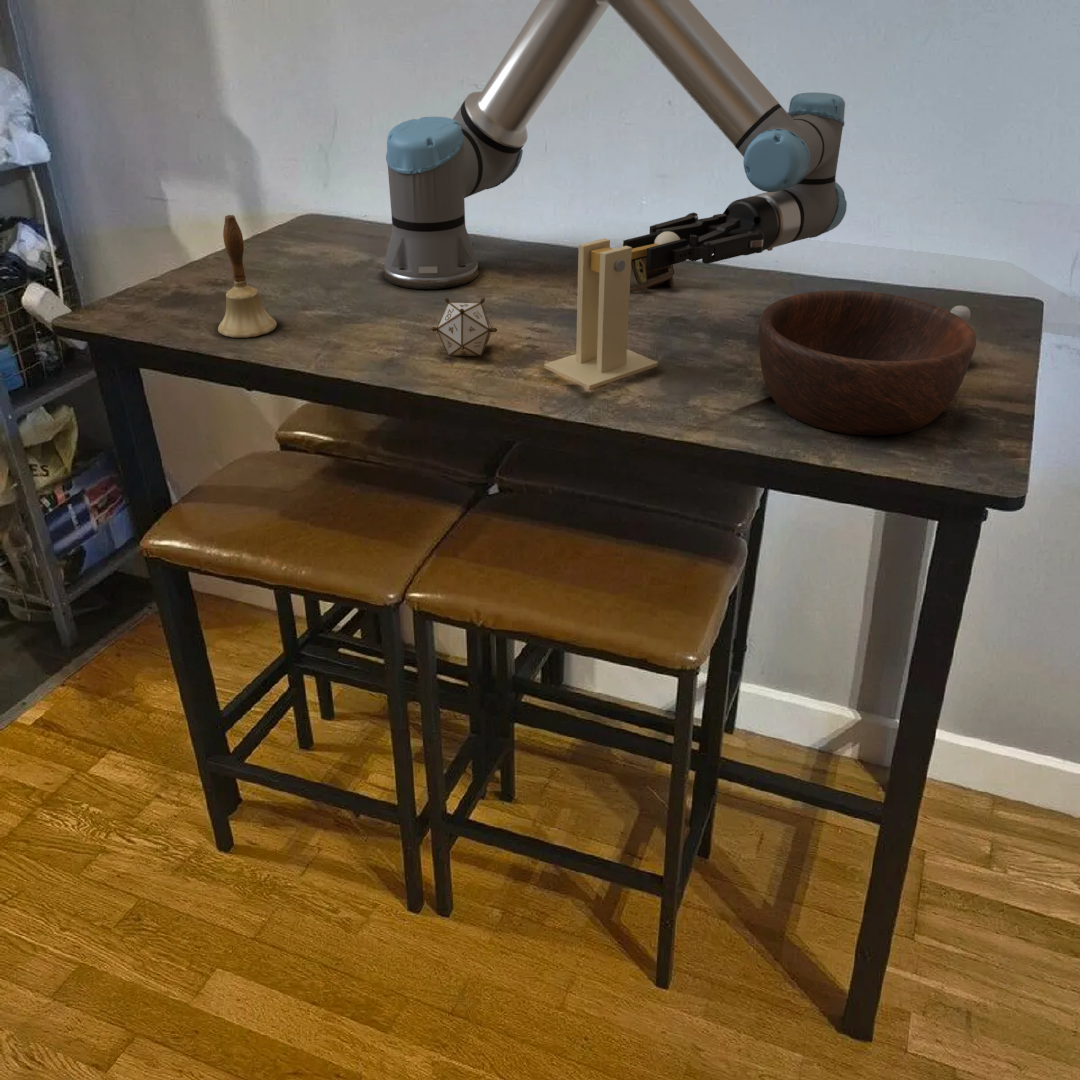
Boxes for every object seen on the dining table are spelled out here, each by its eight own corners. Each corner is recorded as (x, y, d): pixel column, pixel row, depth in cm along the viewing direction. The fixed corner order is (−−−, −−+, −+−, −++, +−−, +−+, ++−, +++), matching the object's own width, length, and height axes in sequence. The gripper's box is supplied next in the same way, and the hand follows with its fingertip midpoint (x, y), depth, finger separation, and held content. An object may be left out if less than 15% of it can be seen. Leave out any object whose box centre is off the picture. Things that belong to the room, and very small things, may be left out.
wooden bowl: (714, 379, 138) (721, 303, 132) (873, 353, 145) (886, 279, 140) (826, 464, 118) (841, 378, 112) (1004, 427, 126) (1025, 345, 120)
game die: (471, 388, 144) (465, 350, 135) (423, 355, 146) (414, 315, 137) (512, 342, 147) (508, 301, 137) (464, 310, 149) (457, 268, 139)
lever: (666, 254, 141) (668, 226, 139) (686, 260, 138) (688, 232, 136) (586, 273, 133) (587, 244, 131) (605, 280, 130) (606, 251, 129)
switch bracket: (611, 352, 146) (616, 229, 137) (657, 372, 140) (665, 245, 131) (543, 373, 139) (544, 246, 130) (589, 395, 133) (593, 264, 124)
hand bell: (206, 333, 151) (186, 220, 143) (240, 314, 158) (224, 205, 149) (254, 341, 149) (237, 227, 140) (288, 322, 155) (273, 211, 147)
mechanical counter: (682, 267, 160) (679, 234, 167) (598, 259, 159) (598, 226, 166) (673, 308, 165) (670, 275, 172) (592, 300, 164) (592, 266, 172)
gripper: (803, 264, 144) (681, 301, 131) (712, 237, 155) (592, 268, 142) (810, 207, 140) (686, 240, 127) (716, 184, 151) (593, 212, 138)
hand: (636, 255), depth 135 cm, fingers closed on lever, 4 cm apart
